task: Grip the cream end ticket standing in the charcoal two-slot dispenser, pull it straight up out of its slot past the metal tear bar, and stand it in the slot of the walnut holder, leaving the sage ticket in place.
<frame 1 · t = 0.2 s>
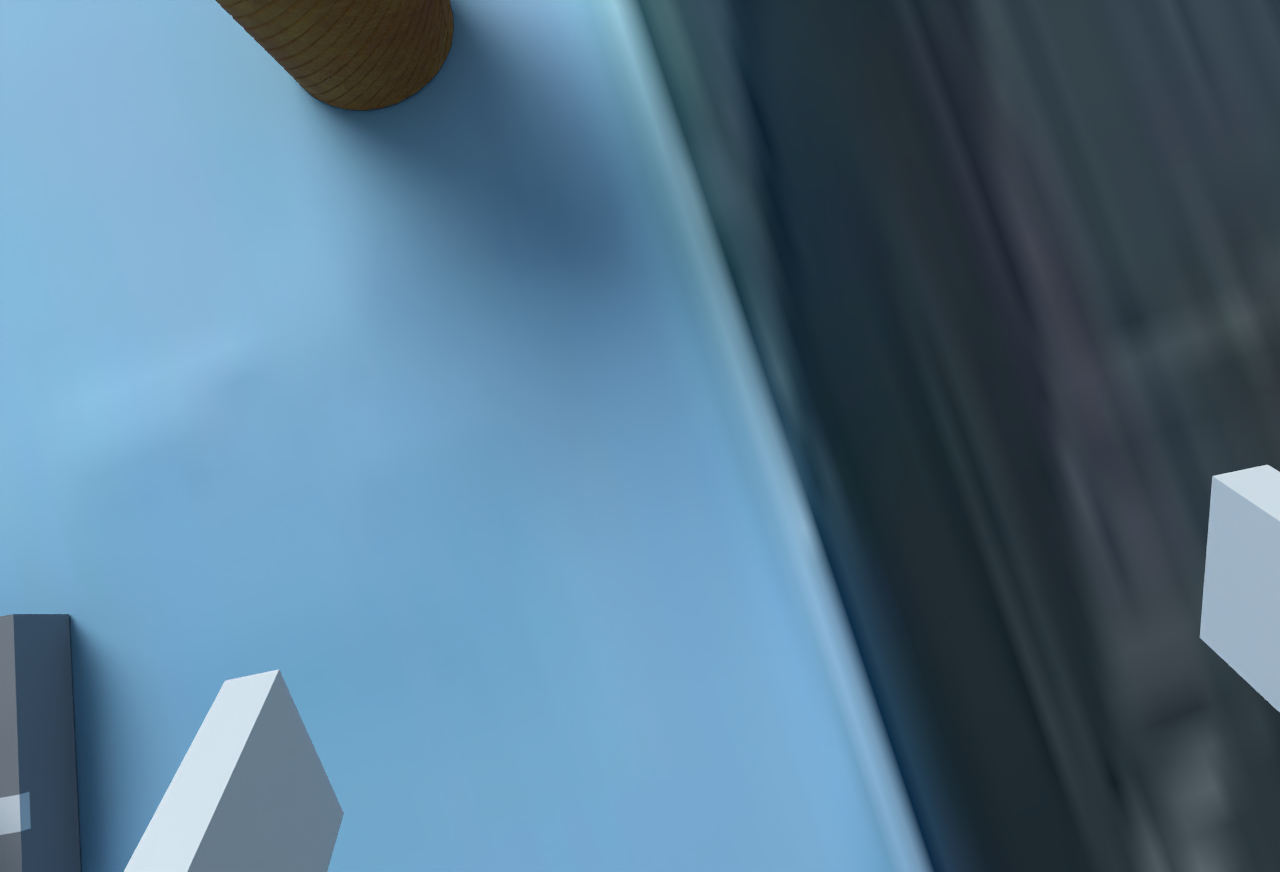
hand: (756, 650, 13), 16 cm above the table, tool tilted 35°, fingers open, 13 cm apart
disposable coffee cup: (370, 36, 33), on the table
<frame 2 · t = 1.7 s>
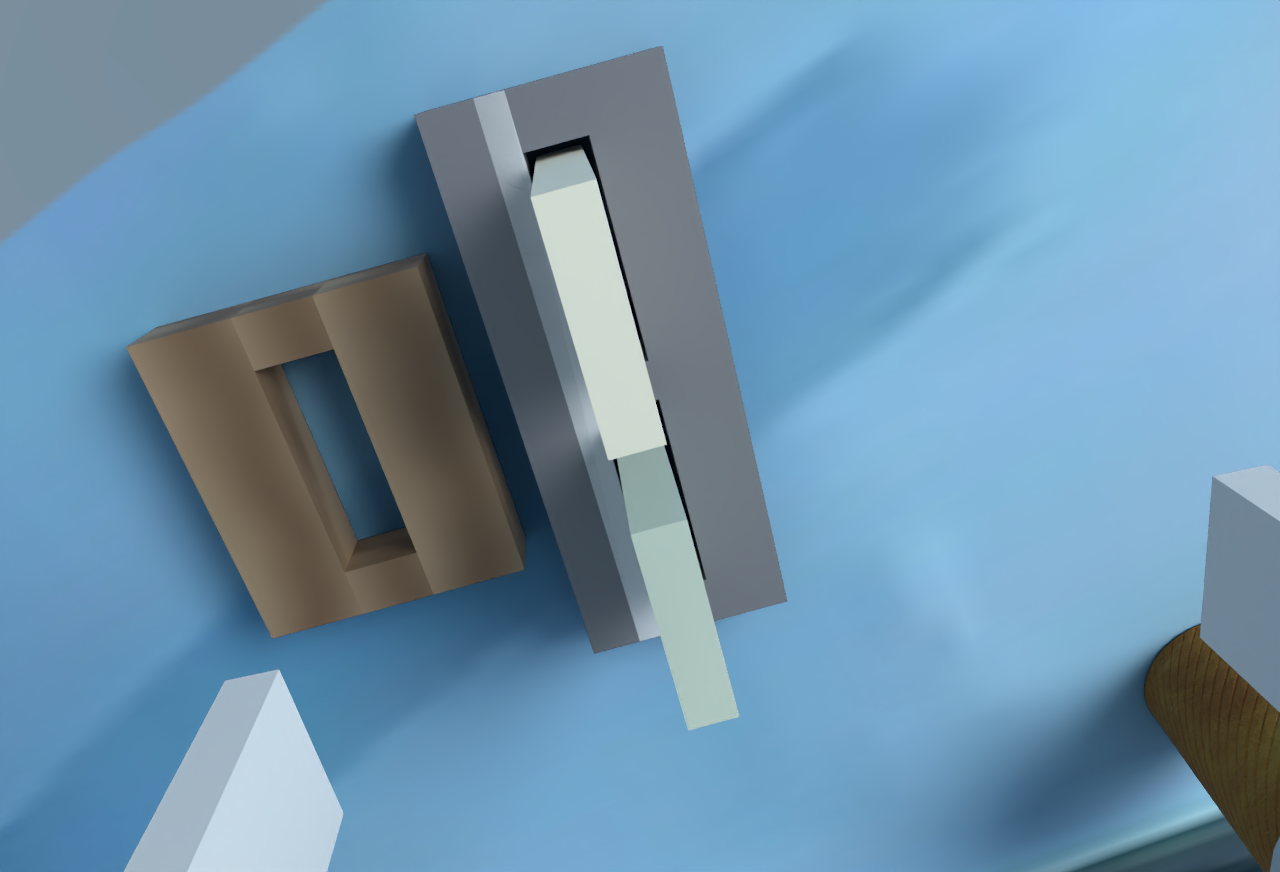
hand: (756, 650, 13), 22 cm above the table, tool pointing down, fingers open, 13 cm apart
end ticket: (585, 248, 33), resting in dispenser
dispenser: (618, 367, 34), on the table
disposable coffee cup: (1204, 671, 43), on the table
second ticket: (648, 473, 36), resting in dispenser
holder: (353, 439, 34), on the table
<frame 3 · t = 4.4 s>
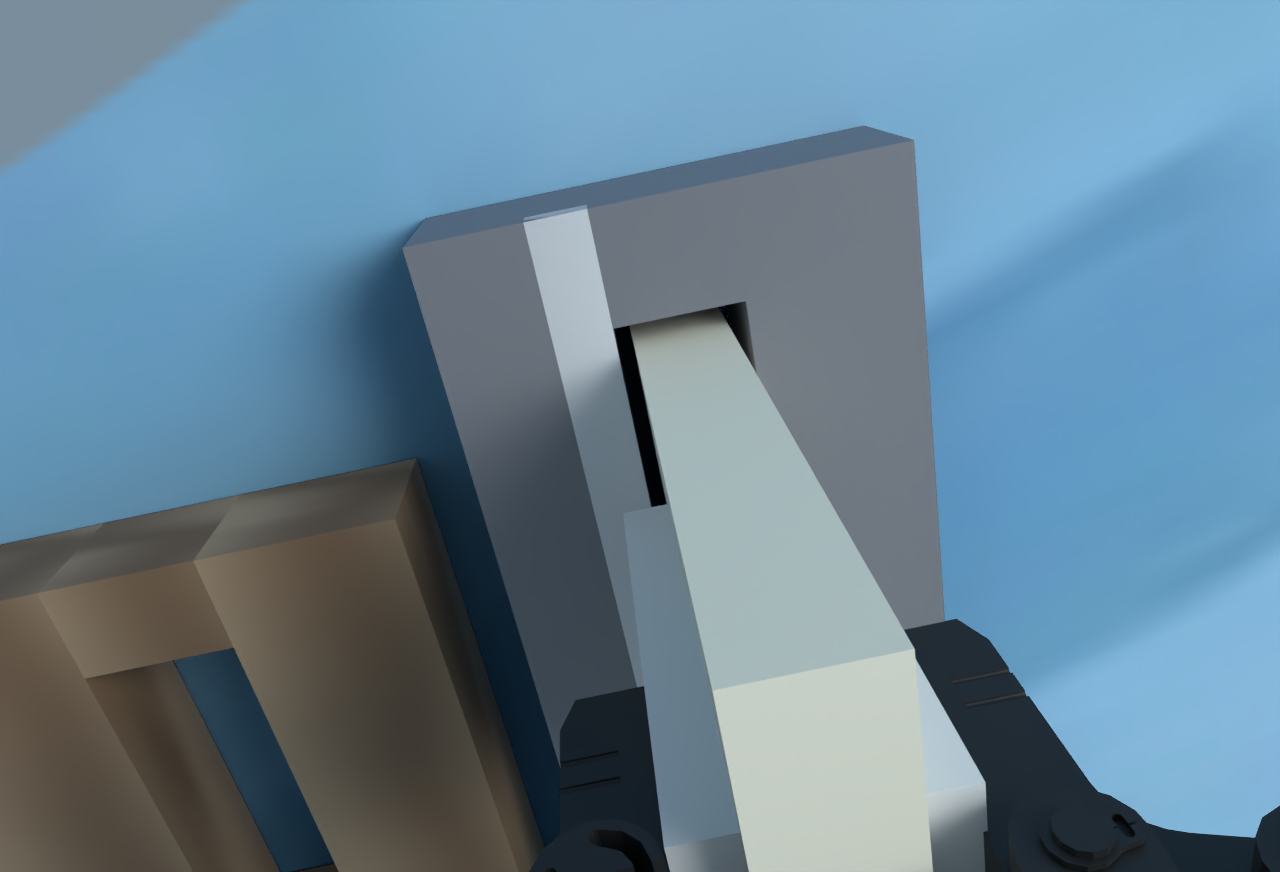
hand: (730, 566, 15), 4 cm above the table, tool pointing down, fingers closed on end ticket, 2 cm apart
end ticket: (697, 462, 18), resting in dispenser, touching gripper
dispenser: (731, 643, 20), on the table
holder: (278, 736, 20), on the table
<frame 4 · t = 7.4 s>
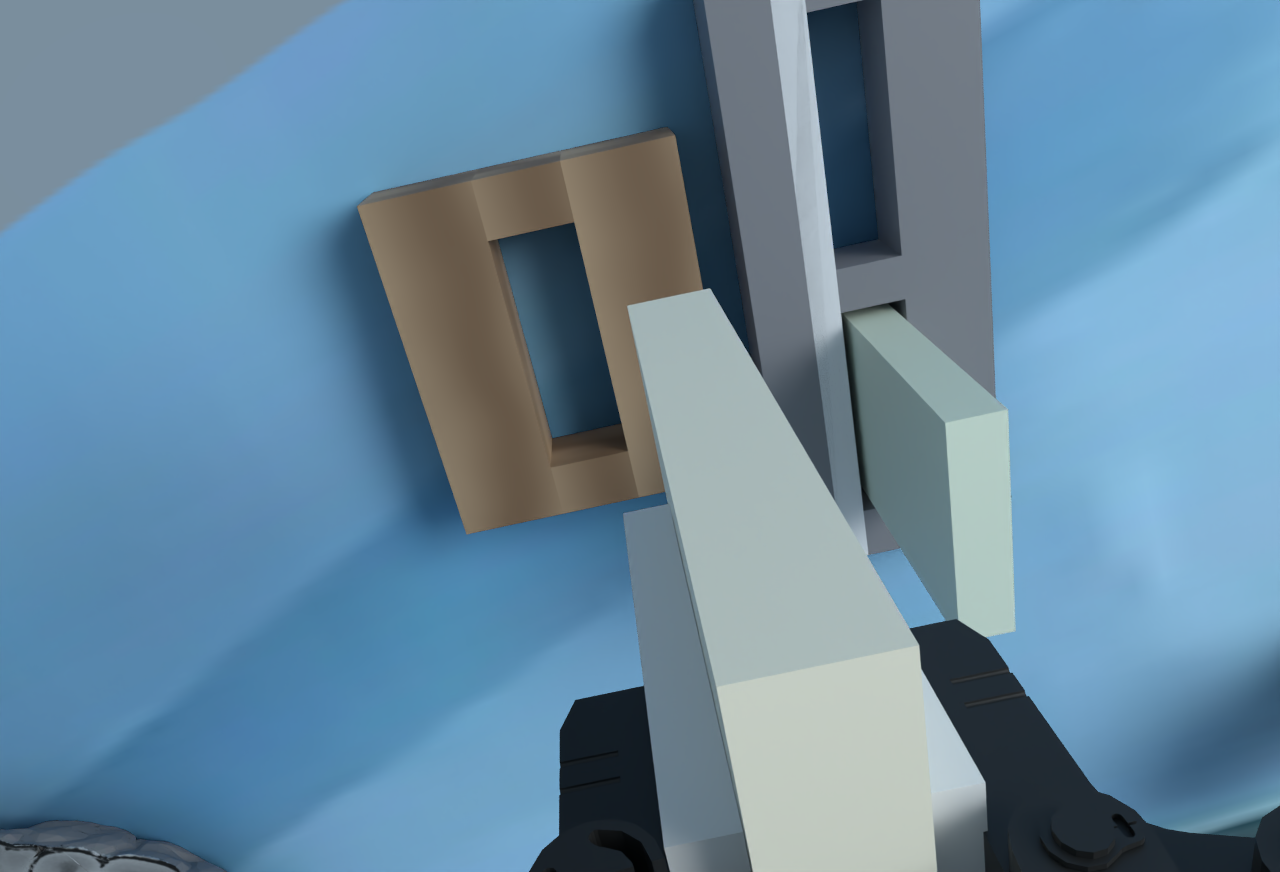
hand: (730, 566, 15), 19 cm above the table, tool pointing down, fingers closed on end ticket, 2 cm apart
end ticket: (698, 460, 18), point 15 cm above the table, touching gripper
dispenser: (849, 266, 32), on the table
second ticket: (862, 384, 34), resting in dispenser
holder: (562, 329, 32), on the table
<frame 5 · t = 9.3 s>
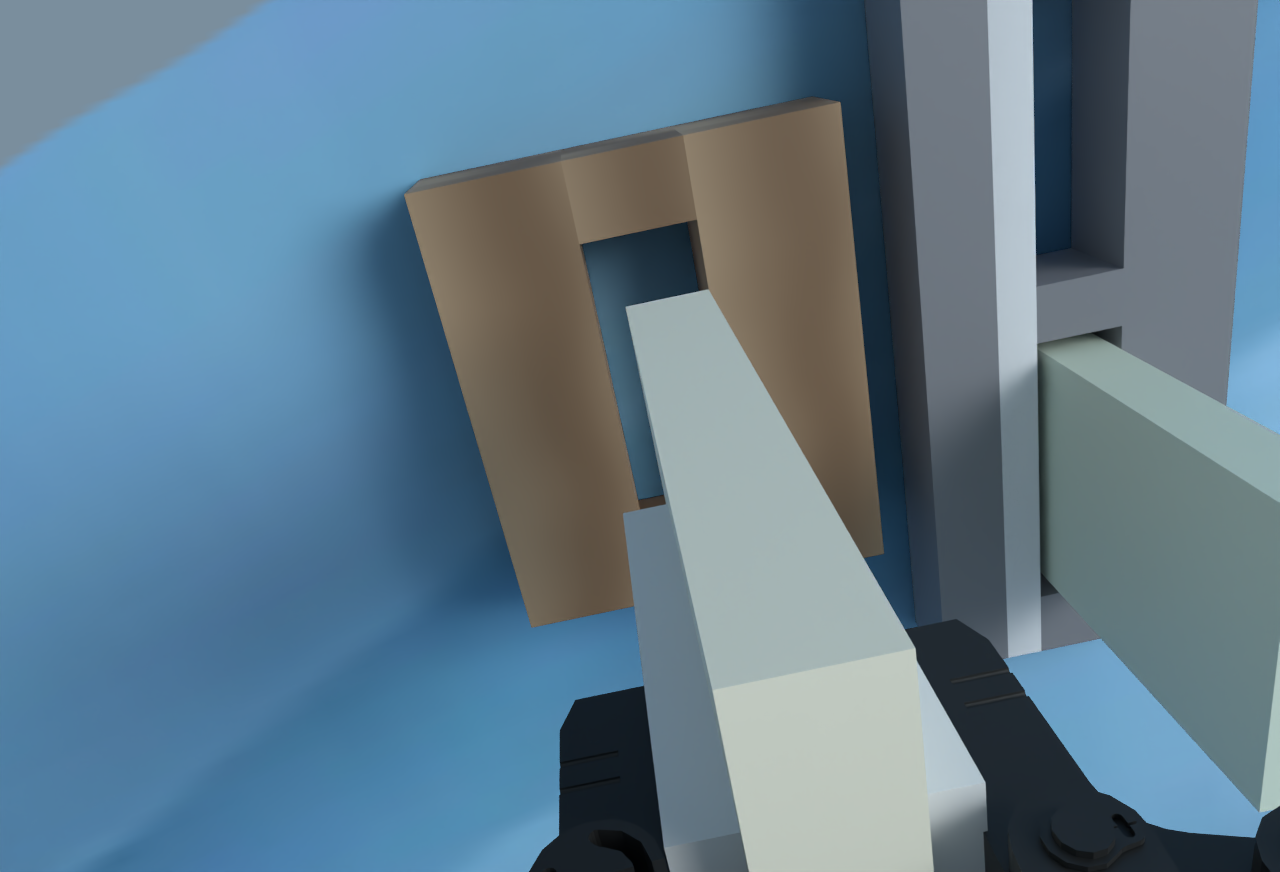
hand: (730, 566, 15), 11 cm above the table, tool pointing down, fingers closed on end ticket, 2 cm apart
end ticket: (697, 461, 18), point 7 cm above the table, touching gripper
dispenser: (1032, 282, 25), on the table
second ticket: (1033, 433, 27), resting in dispenser
holder: (659, 361, 25), on the table
when the fingers open (5 cm above the table, at t = 10.9 s): end ticket stays where it is, resting in holder.
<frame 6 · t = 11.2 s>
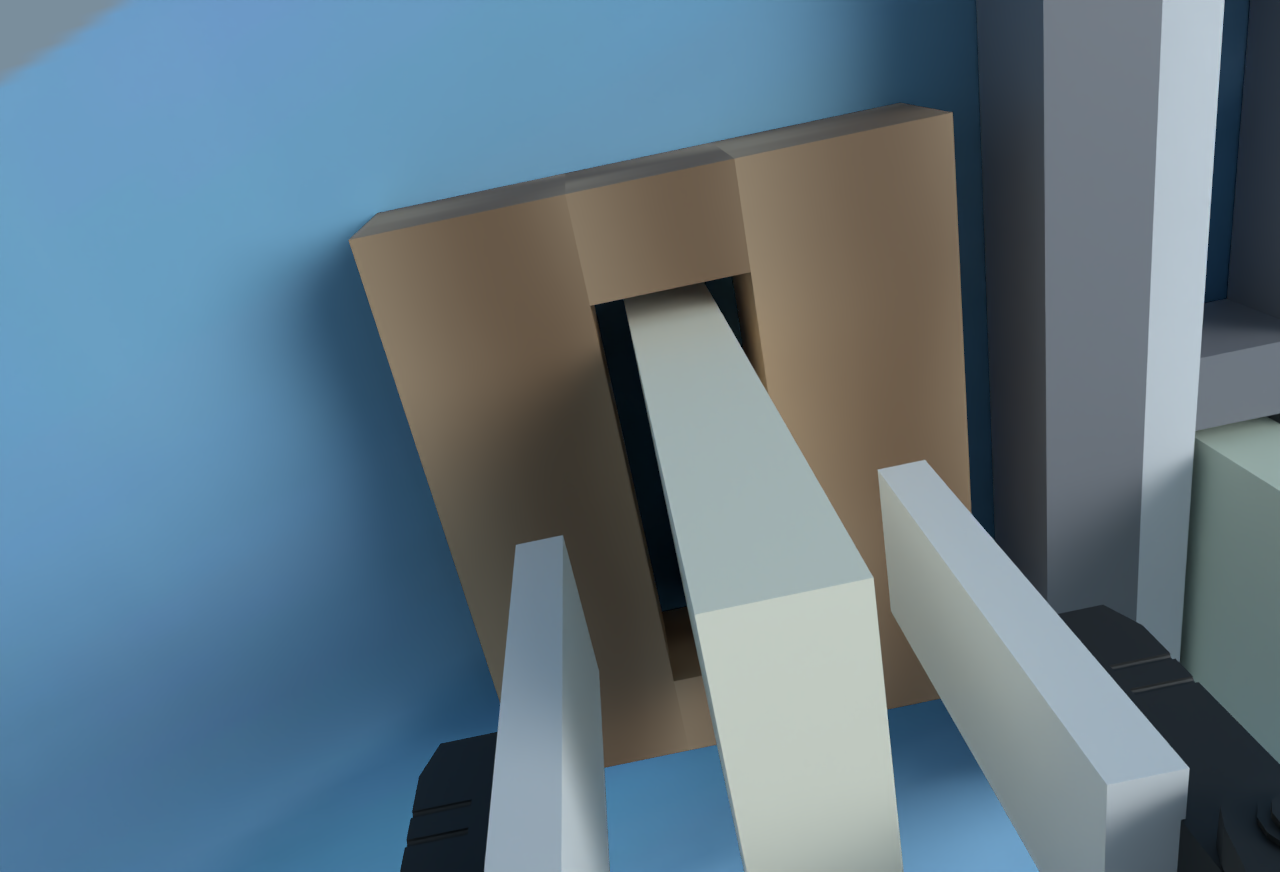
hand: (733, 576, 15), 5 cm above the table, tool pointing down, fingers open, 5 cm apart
end ticket: (690, 441, 19), resting in holder
dispenser: (1173, 342, 19), on the table
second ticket: (1162, 527, 21), resting in dispenser
holder: (691, 443, 19), on the table
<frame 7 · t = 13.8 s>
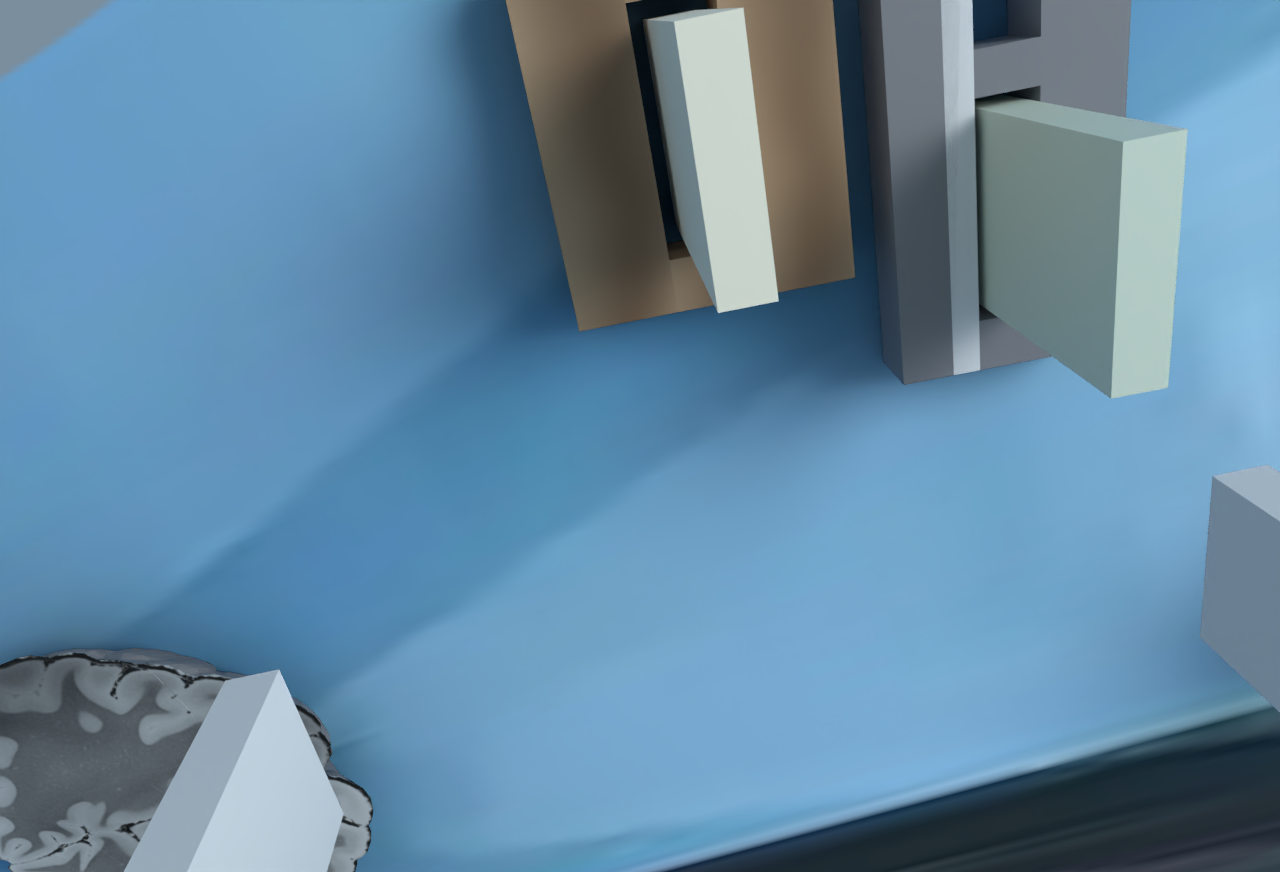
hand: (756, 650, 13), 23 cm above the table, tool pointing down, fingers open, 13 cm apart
end ticket: (682, 122, 32), resting in holder
brain slice: (200, 761, 43), on the table
dispenser: (976, 64, 32), on the table
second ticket: (978, 196, 34), resting in dispenser
holder: (682, 122, 32), on the table
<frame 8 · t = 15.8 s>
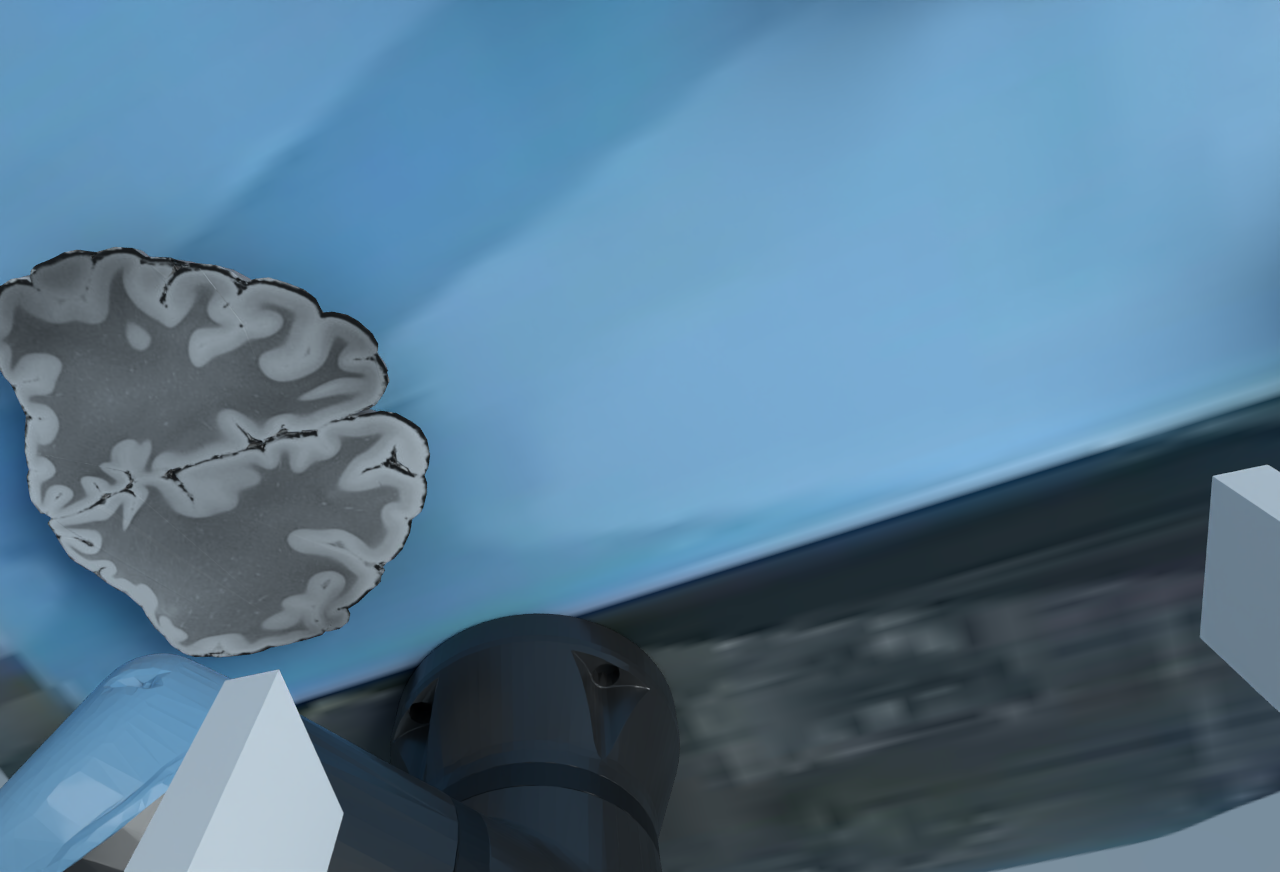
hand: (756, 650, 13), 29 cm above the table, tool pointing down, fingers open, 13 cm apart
brain slice: (246, 428, 42), on the table
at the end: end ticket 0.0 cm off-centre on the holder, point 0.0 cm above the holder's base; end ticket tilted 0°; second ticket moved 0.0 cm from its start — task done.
